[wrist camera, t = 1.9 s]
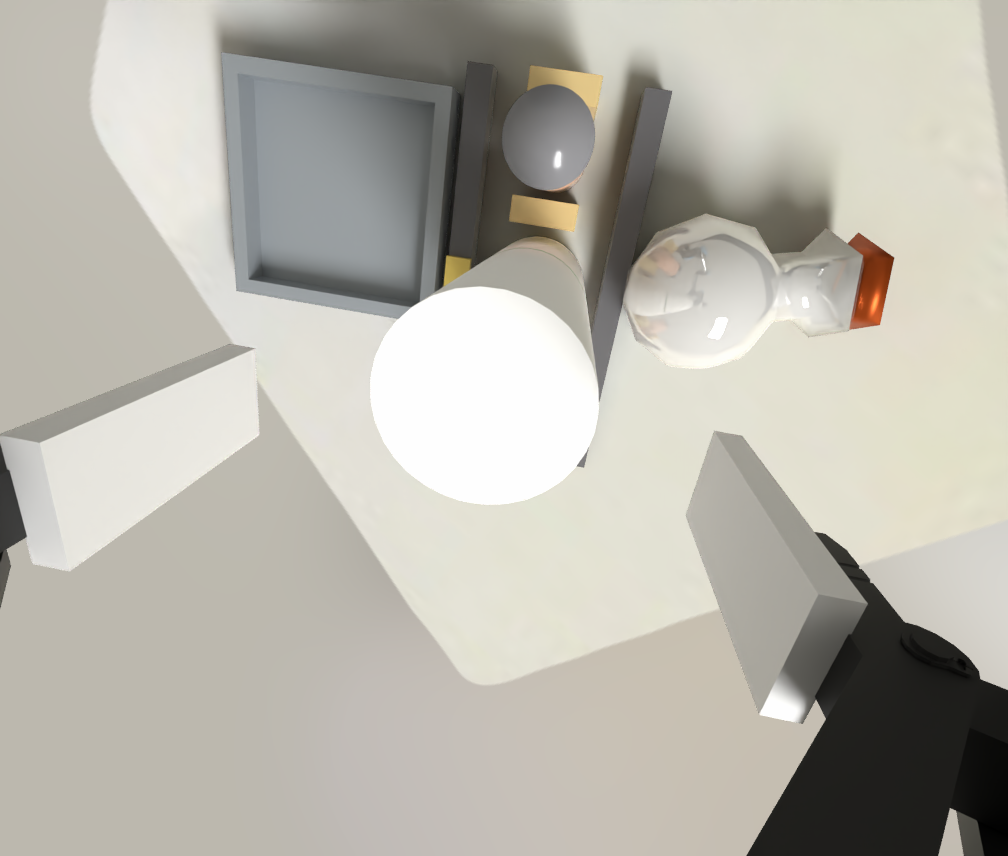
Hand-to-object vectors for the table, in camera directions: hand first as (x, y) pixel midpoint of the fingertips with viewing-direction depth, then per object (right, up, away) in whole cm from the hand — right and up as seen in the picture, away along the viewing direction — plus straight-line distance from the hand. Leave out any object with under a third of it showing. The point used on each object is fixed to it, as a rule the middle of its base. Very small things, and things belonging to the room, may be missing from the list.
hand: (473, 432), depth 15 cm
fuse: (+4, +18, +21) cm, 28 cm away
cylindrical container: (+3, +11, +24) cm, 27 cm away
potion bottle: (+17, +11, +22) cm, 30 cm away
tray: (-10, +17, +23) cm, 30 cm away
